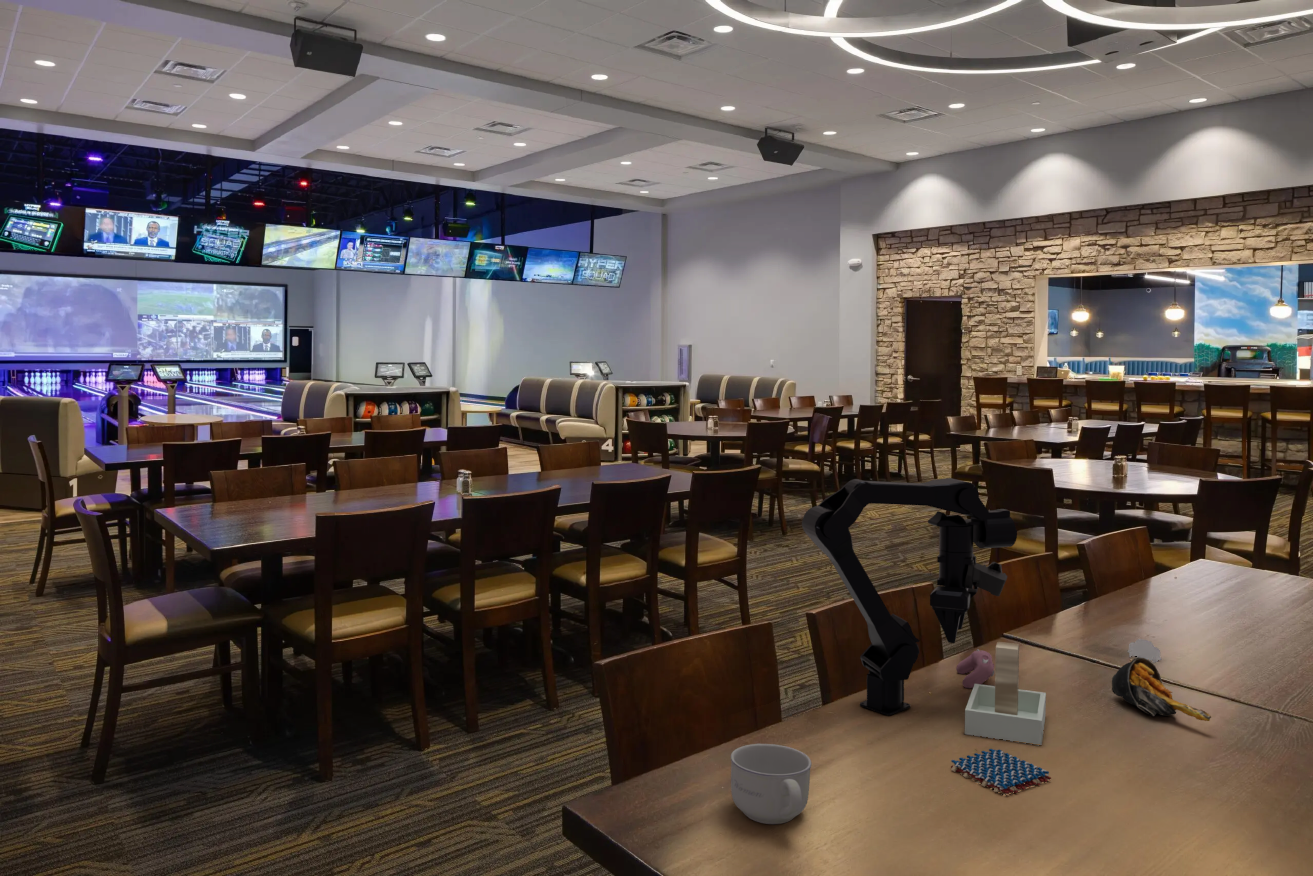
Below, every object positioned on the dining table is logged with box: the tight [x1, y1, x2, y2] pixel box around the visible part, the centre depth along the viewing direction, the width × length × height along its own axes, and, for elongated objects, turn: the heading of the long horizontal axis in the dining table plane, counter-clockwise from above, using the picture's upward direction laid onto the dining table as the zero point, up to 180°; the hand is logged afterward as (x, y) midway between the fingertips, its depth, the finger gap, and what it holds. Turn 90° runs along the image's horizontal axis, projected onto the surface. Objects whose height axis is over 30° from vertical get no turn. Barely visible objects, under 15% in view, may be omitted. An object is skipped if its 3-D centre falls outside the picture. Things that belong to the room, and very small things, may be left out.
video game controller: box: [955, 648, 995, 689], centre depth 175 cm, size 10×5×7 cm, turn 170°
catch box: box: [964, 684, 1047, 745], centre depth 153 cm, size 14×12×4 cm
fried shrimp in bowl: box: [1111, 657, 1212, 722], centre depth 157 cm, size 9×11×18 cm
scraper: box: [994, 641, 1020, 715], centre depth 153 cm, size 8×3×13 cm, turn 155°
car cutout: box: [1127, 638, 1162, 664], centre depth 190 cm, size 15×7×4 cm, turn 39°
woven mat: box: [950, 748, 1052, 795], centre depth 134 cm, size 10×11×2 cm
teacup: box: [730, 743, 812, 825], centre depth 122 cm, size 14×11×8 cm
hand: (955, 635), depth 164 cm, fingers open, 9 cm apart
